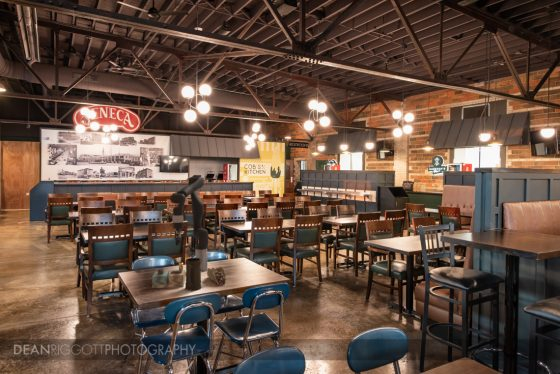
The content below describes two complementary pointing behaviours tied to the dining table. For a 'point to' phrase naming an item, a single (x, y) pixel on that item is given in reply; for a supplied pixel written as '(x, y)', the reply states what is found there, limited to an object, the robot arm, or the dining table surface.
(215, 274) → the burrito
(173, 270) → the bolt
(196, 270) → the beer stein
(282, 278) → the dining table surface
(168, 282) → the clear plastic box
